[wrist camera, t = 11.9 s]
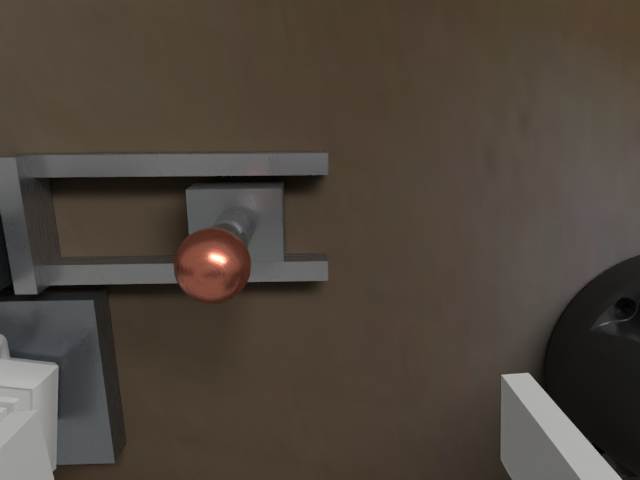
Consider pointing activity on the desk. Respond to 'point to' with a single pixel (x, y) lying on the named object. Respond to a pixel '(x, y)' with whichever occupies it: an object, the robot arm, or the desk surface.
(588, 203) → the desk surface
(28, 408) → the stamp
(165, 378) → the desk surface
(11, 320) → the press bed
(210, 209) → the lever
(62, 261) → the lever guide
